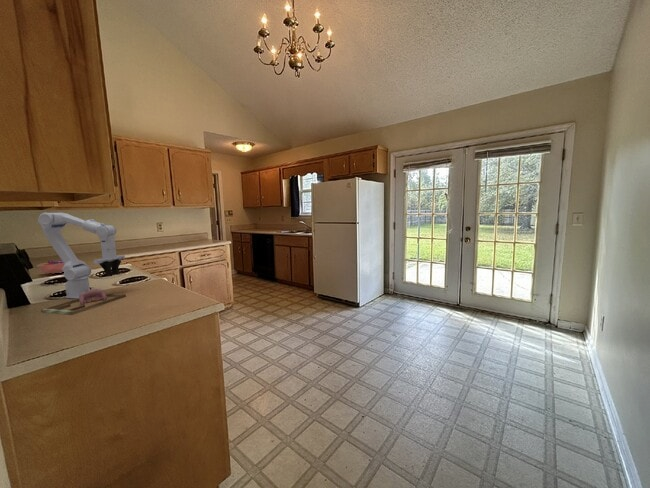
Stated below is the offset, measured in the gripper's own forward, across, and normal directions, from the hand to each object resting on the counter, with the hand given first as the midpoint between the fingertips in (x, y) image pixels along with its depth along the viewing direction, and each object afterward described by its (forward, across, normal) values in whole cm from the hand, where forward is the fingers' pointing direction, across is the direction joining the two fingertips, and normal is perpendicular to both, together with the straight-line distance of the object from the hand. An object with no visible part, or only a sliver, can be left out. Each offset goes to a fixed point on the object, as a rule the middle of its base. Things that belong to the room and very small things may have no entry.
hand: (112, 275), depth 140 cm
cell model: (+11, +36, +94) cm, 101 cm away
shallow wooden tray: (+10, -14, 0) cm, 17 cm away
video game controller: (+11, -11, 0) cm, 15 cm away
